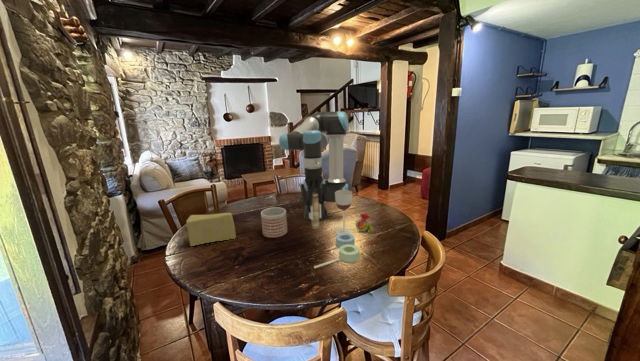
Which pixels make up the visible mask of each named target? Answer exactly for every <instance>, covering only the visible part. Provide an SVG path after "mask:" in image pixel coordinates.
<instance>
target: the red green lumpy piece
mask: <svg viewBox="0 0 640 361" xmlns="http://www.w3.org/2000/svg"><path fill="white" fill-rule="evenodd" d="M368 219H370V215H369V214H368V213H360V218H358V219H357V220H356V222H355V228H356V229H357V231H358V233H361V232H365V231H367V232H368V233H370V232H373V229H372V225H373V224H372V223H369V221H368Z"/></svg>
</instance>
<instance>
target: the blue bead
mask: <svg viewBox="0 0 640 361" xmlns="http://www.w3.org/2000/svg"><path fill="white" fill-rule="evenodd" d="M335 245H336V247H337V248H338V249H339V248H340V247H341V246H343V245H355V236H354V235H353V234H352V233H351V234H349V233H341V234H336V236H335ZM355 246H356V245H355Z"/></svg>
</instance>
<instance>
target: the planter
mask: <svg viewBox="0 0 640 361" xmlns="http://www.w3.org/2000/svg"><path fill="white" fill-rule="evenodd" d="M260 217H261V218H260V219H261V220H260V221H261V228H262V229H261V231H262V235H263V236H264V237H266V238H270V239H271V238H273V239H274V238H281V237H283V236H284V235H286V234H287V233H288V220H287V210H286V209H285V208H283V207H279V206H278V207H276V206H275V207H268V208H264V209H262V211H261V212H260Z"/></svg>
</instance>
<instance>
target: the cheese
mask: <svg viewBox="0 0 640 361" xmlns="http://www.w3.org/2000/svg"><path fill="white" fill-rule="evenodd" d="M233 218H234V217H233V214H232V213H231V212H222V213H221V212H220V213H214V214H212V213H211V214H191V215H189V217H188V218H187V219H186V220H185V221H186V229H187V233H188V234H187V235H188V236H187V237H188V240H189V241H188V242H189V247H190V246H195V245H199V244H204V243H209V242H215V241H223V240H229V239H234V240H236V239H237V234H236V227H235V226H236V225H235V222H234V219H233ZM235 238H236V239H235ZM229 241H230V240H229Z"/></svg>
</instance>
